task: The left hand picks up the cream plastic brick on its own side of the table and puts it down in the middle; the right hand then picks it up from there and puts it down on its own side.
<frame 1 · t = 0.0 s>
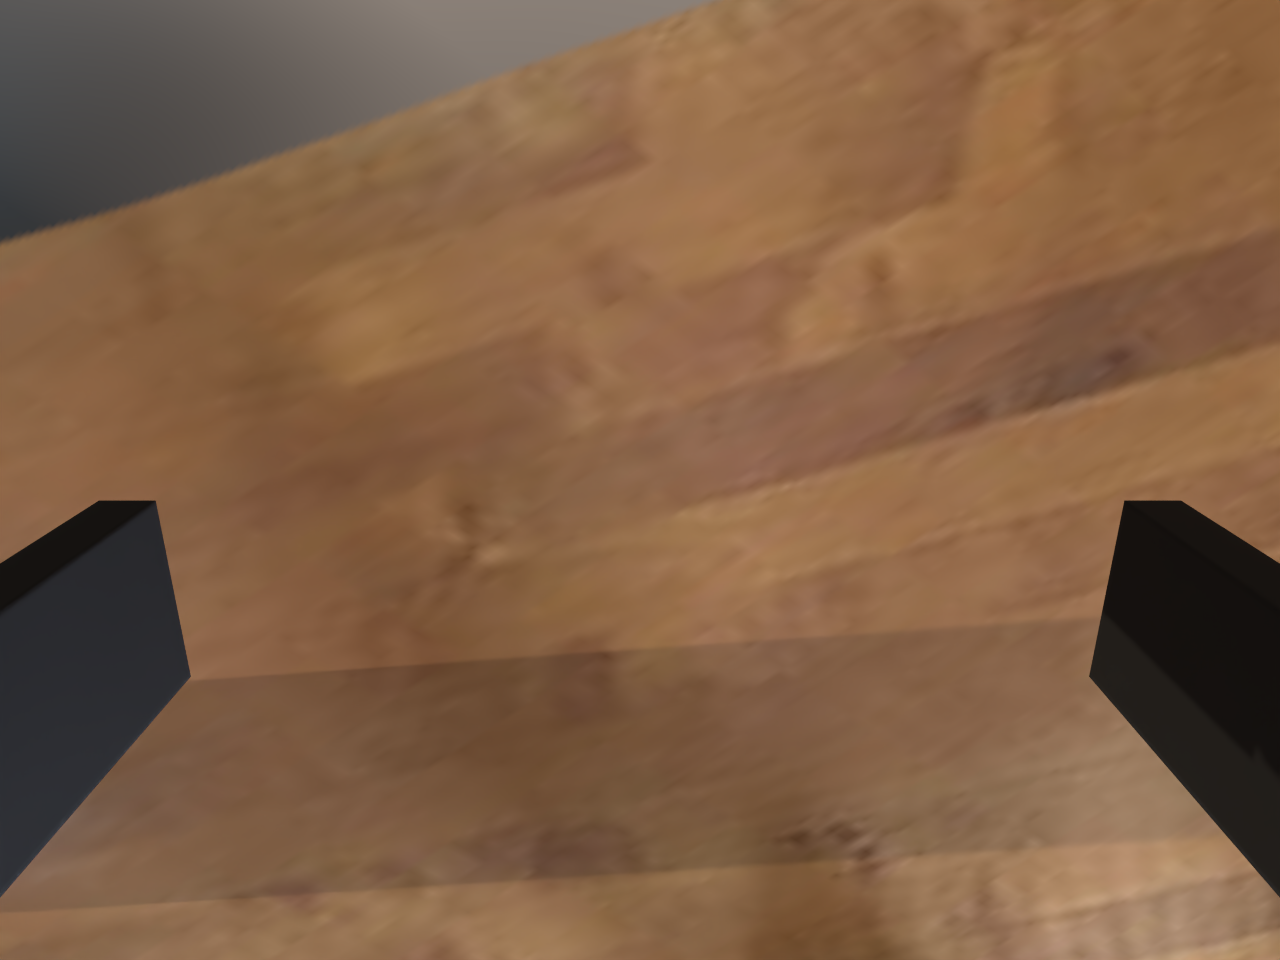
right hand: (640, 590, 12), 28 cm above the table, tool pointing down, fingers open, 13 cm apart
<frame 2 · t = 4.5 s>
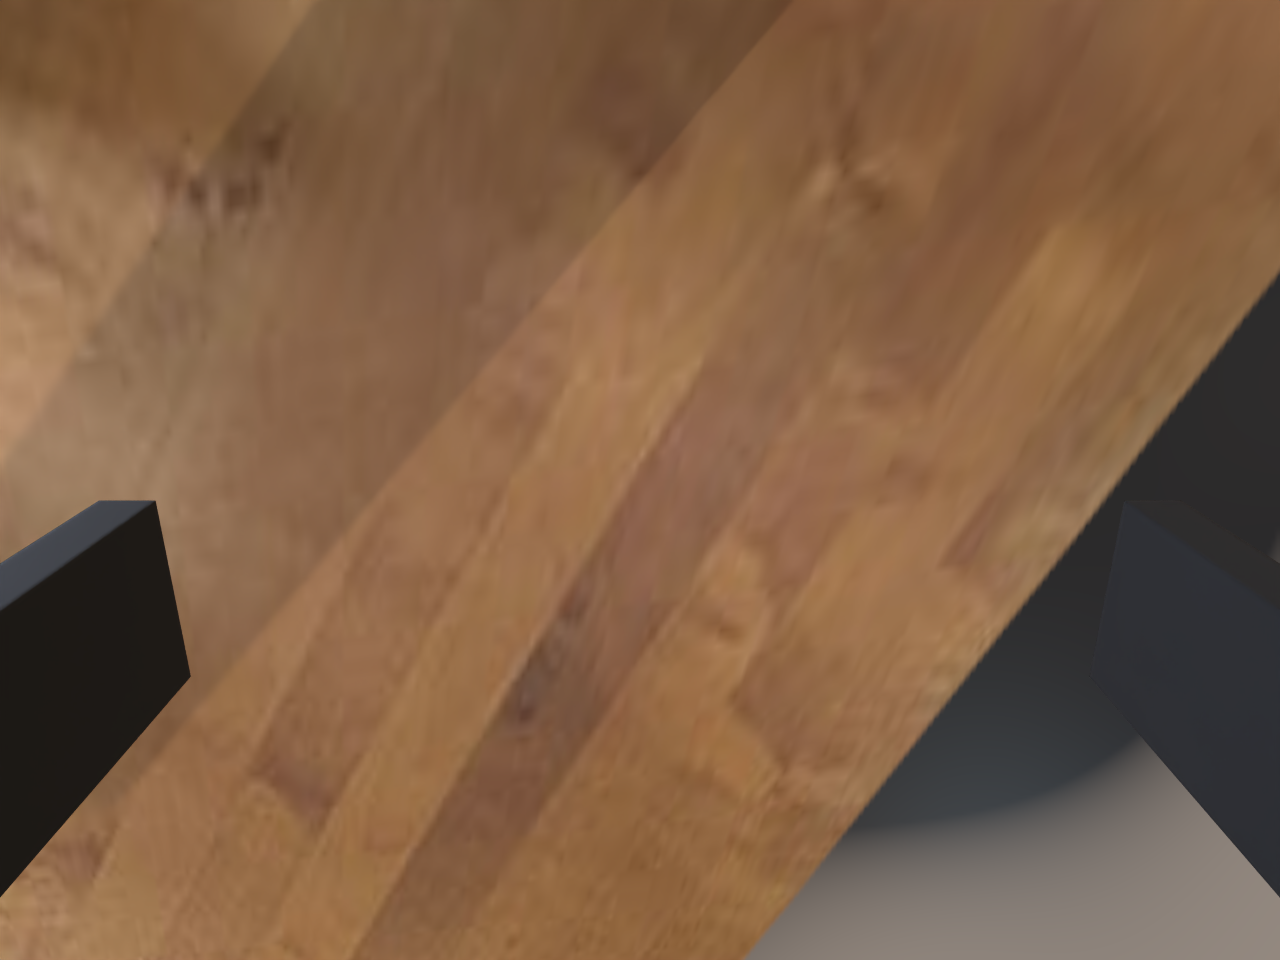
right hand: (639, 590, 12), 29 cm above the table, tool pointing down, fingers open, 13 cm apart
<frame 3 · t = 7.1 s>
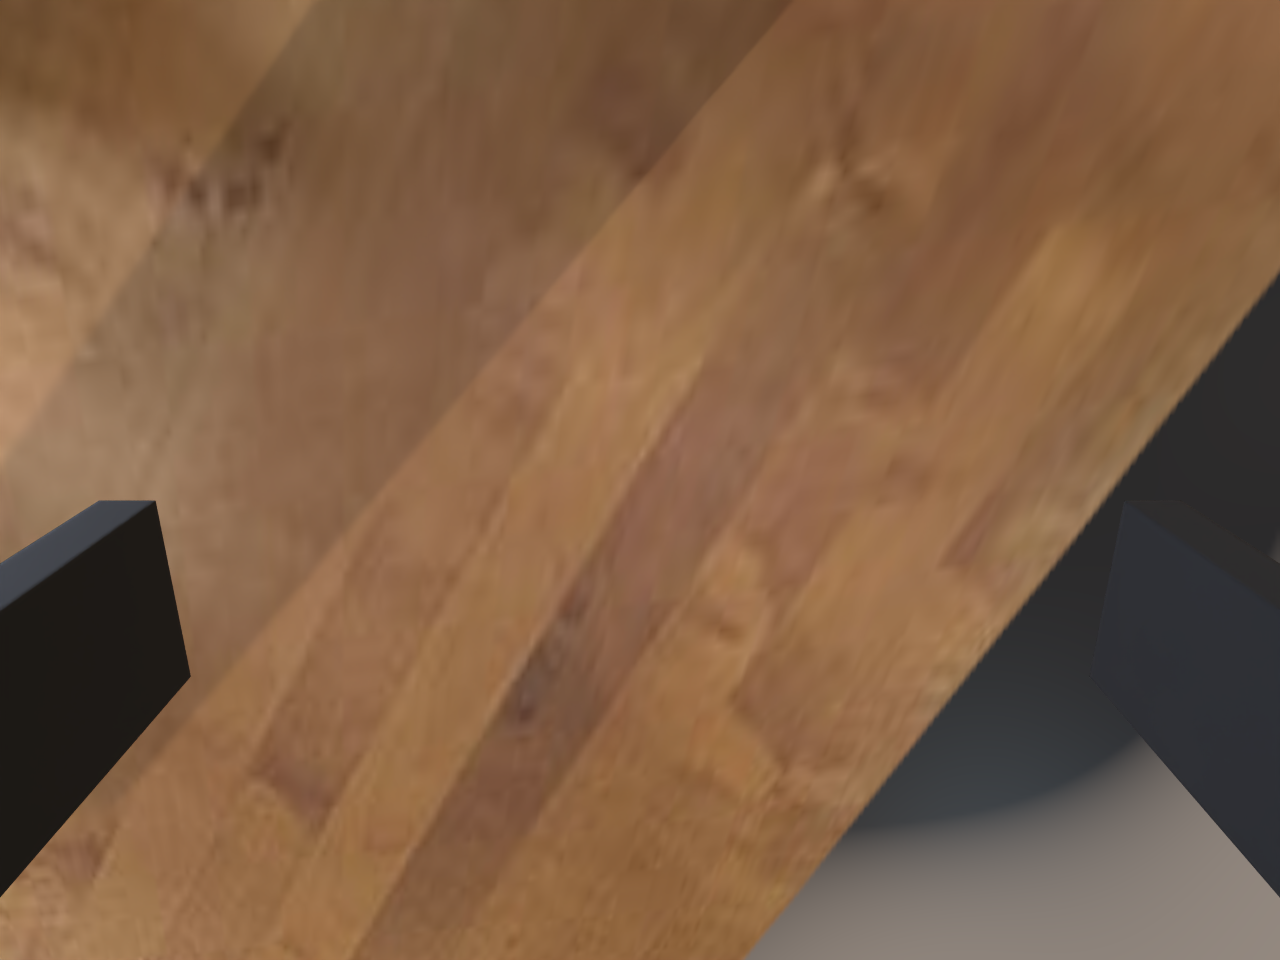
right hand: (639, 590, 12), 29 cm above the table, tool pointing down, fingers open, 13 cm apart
when the left hand's fingers open (3 cm above the table, at t = 9.9 s): brick drops 1 cm, on the table.
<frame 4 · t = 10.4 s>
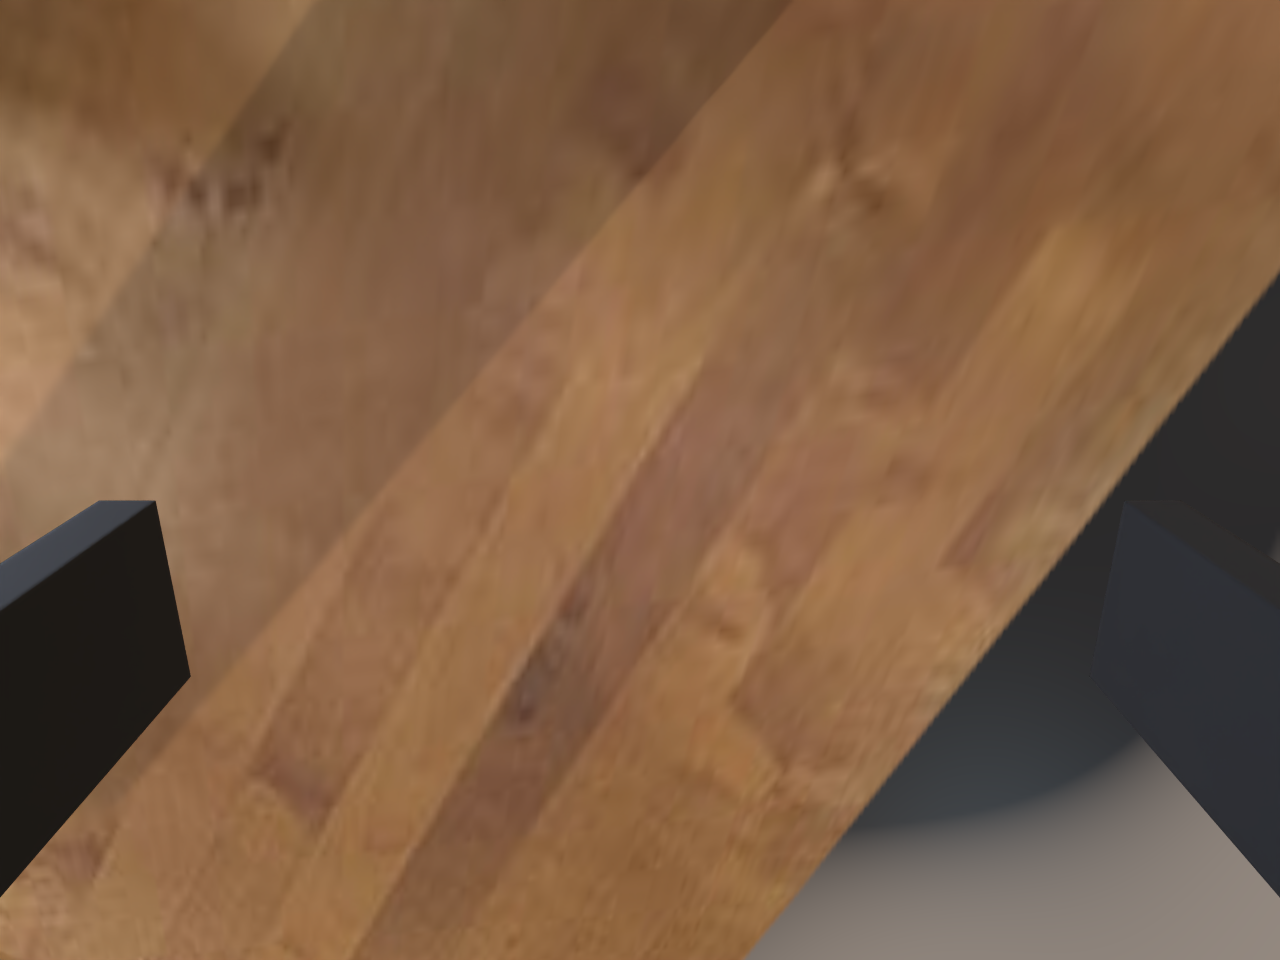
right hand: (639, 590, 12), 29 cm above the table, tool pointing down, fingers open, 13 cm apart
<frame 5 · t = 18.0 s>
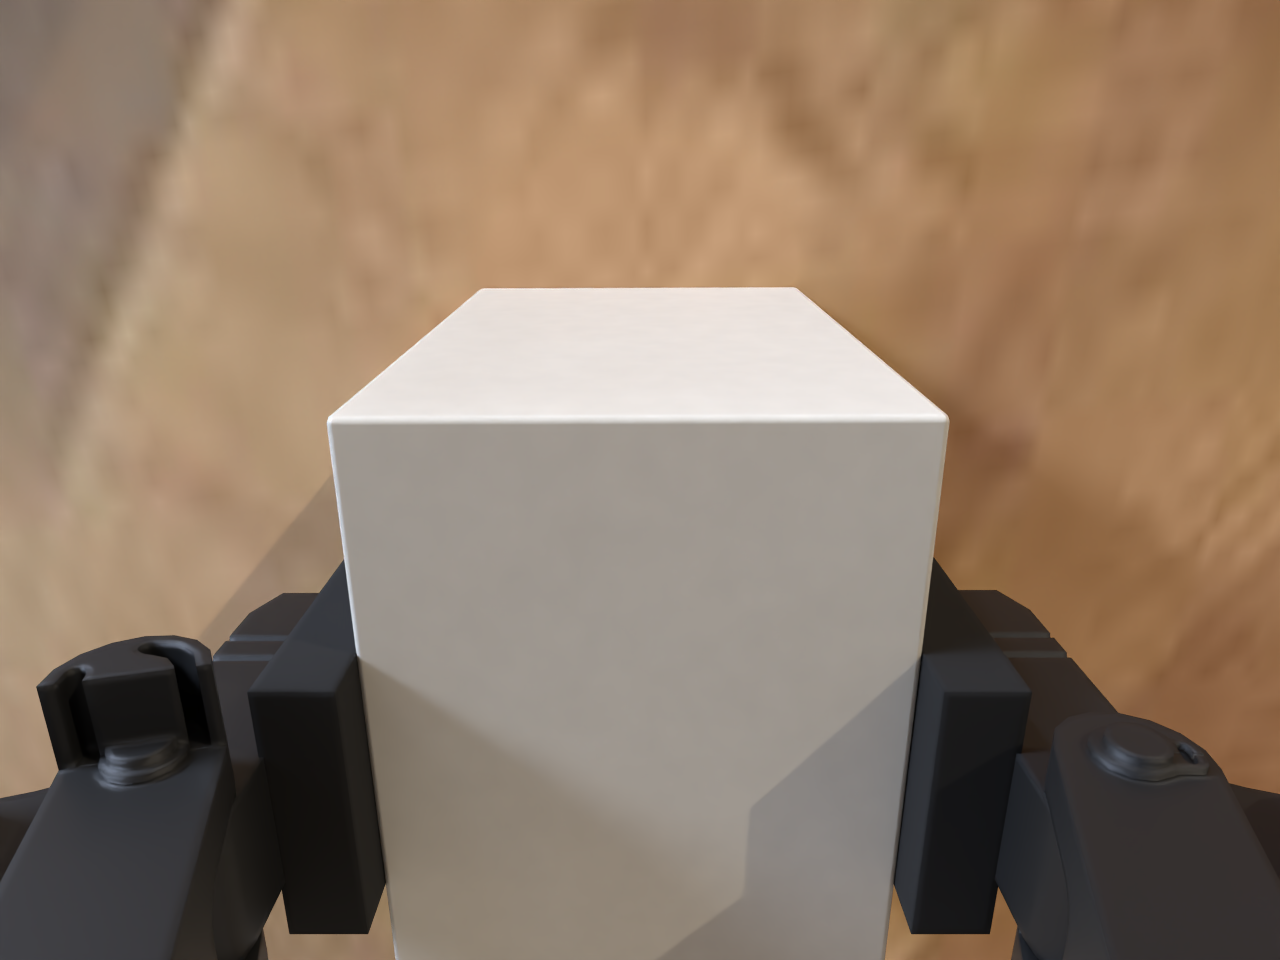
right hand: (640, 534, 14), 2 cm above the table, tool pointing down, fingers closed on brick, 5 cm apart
brick: (639, 493, 16), on the table, touching right hand
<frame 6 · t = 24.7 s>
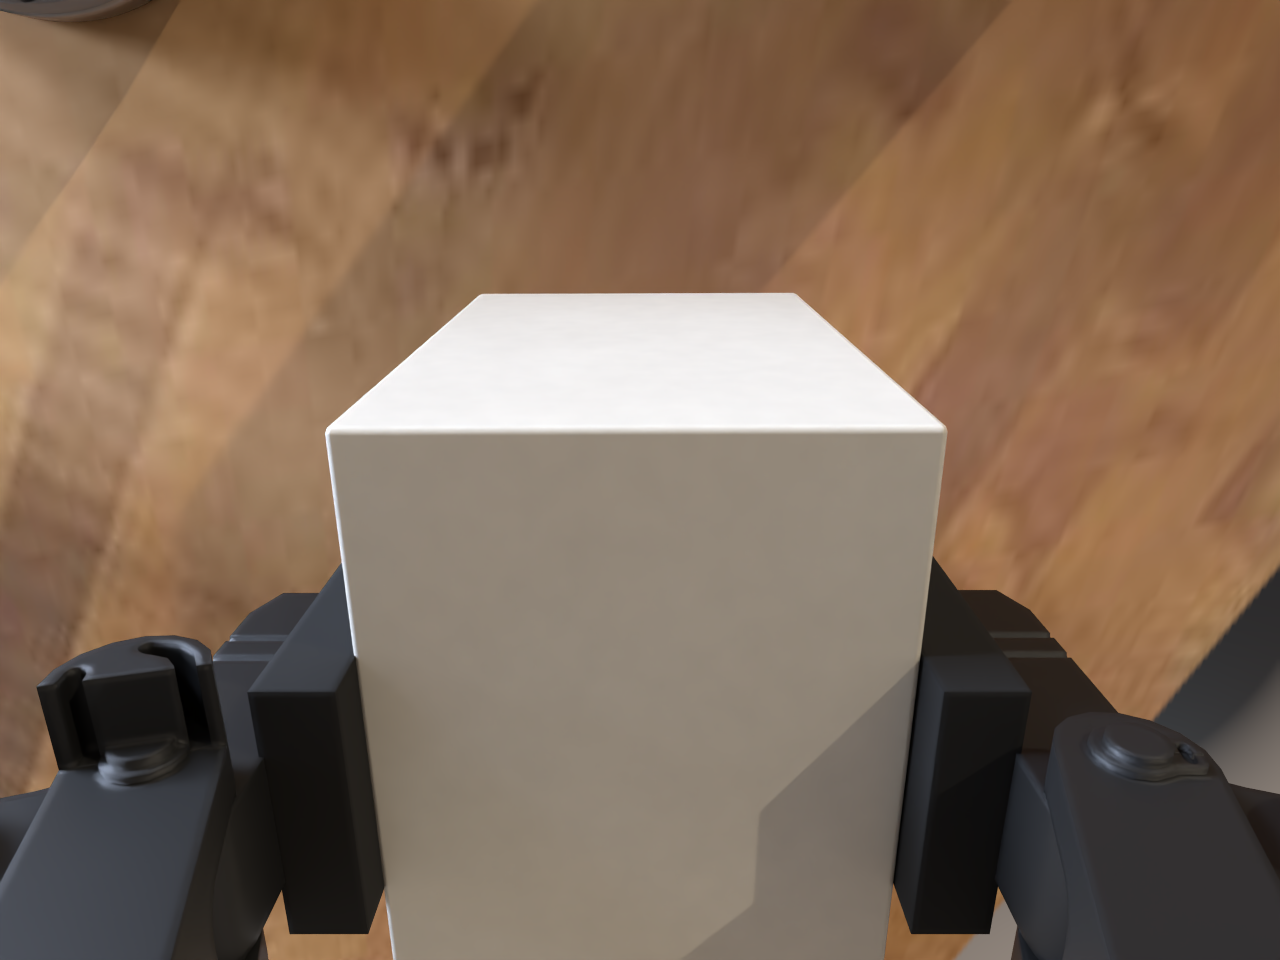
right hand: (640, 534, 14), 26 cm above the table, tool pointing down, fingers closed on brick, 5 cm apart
brick: (638, 498, 16), point 24 cm above the table, touching right hand
when the right hand's fingers open (3 cm above the table, at t = 31.8 s): brick drops 1 cm, on the table.
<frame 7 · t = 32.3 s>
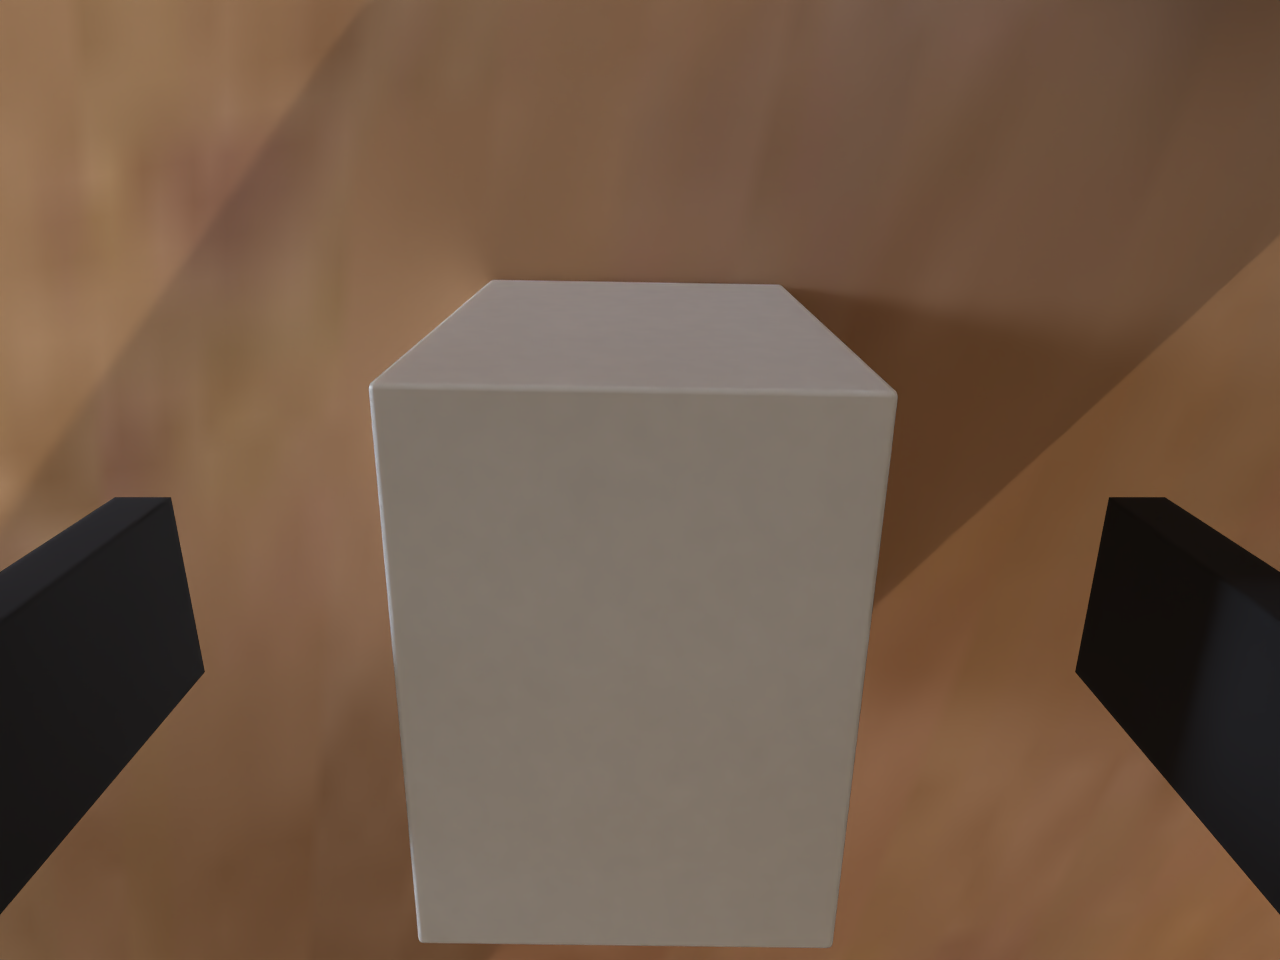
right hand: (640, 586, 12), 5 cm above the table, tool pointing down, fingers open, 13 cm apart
brick: (633, 472, 17), on the table
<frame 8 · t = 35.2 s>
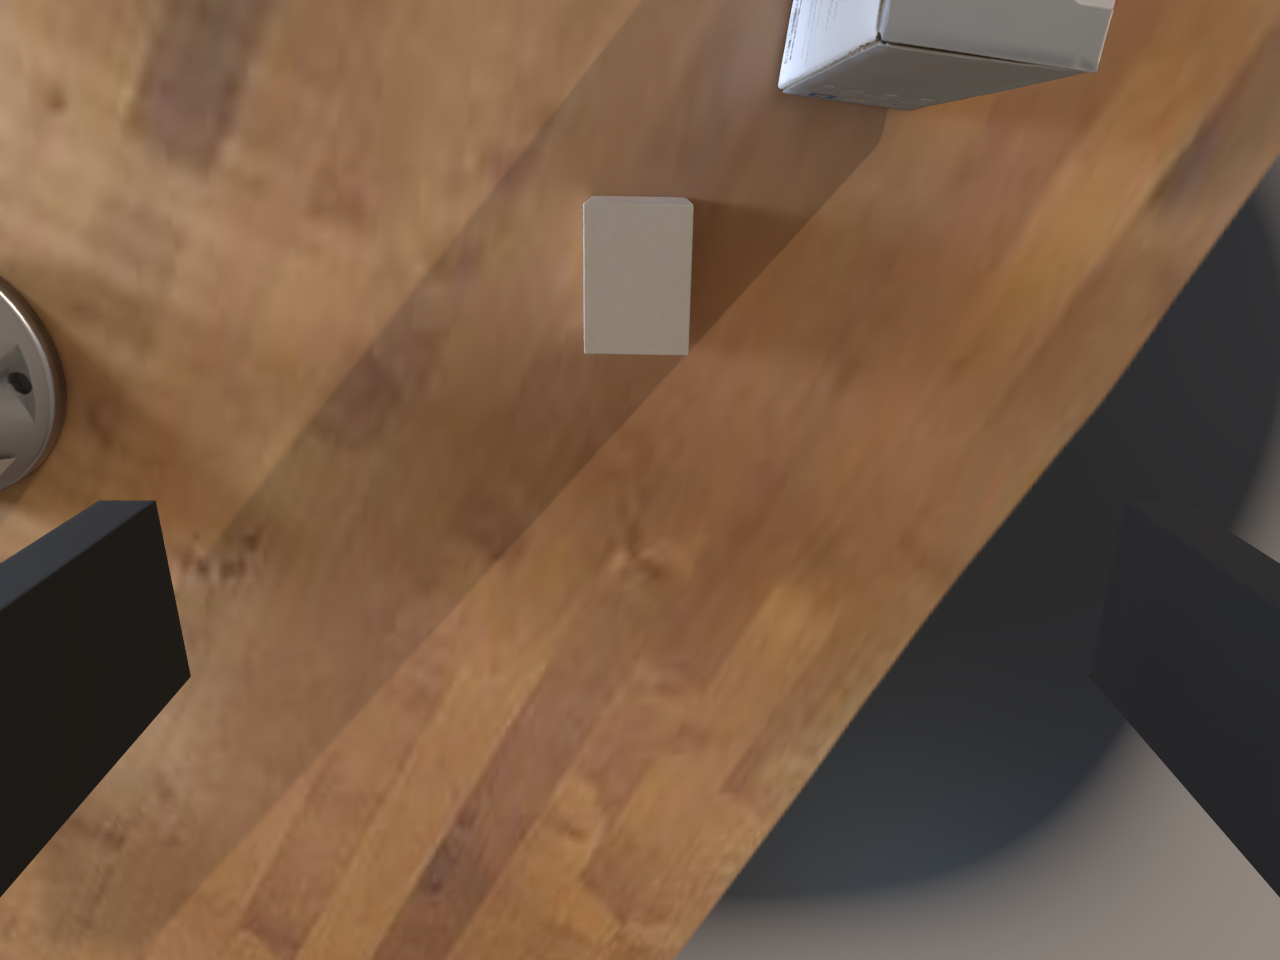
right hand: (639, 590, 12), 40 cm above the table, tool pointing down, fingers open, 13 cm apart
brick: (637, 263, 50), on the table
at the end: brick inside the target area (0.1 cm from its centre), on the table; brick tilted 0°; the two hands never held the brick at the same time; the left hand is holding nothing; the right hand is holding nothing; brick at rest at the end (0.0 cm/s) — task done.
